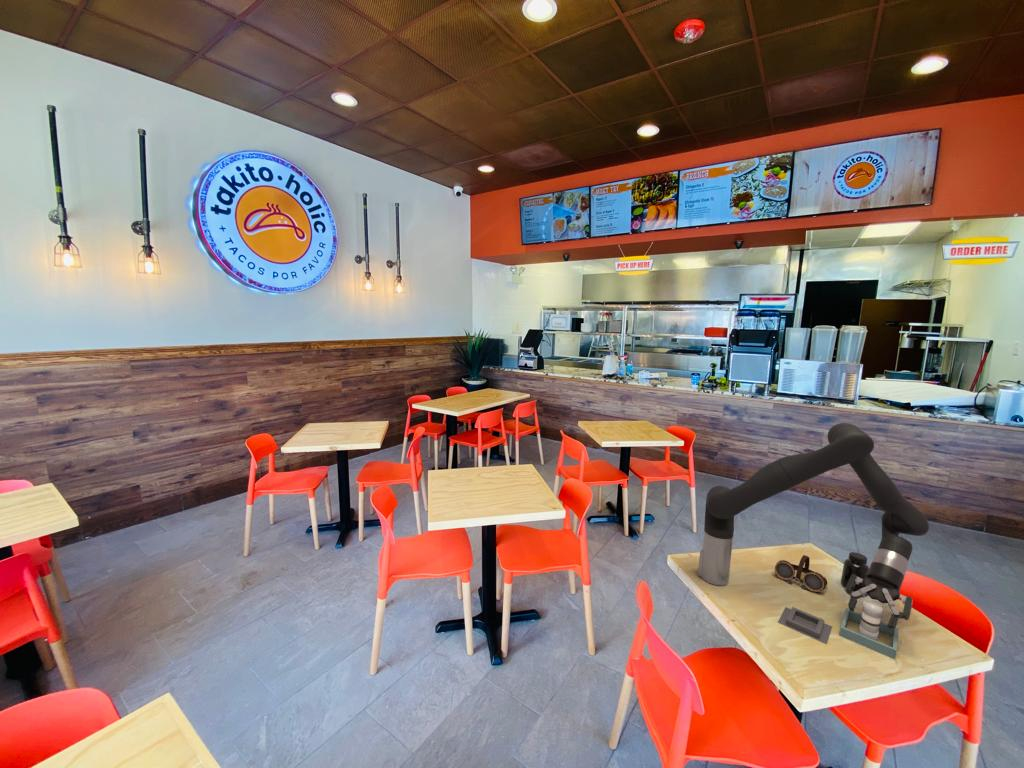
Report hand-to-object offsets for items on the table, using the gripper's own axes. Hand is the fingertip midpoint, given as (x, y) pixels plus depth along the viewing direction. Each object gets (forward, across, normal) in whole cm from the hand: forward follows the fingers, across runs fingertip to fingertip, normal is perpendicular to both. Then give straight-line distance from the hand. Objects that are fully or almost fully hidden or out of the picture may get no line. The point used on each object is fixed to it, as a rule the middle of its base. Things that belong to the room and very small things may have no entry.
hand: (869, 618), depth 119 cm
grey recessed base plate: (+11, -12, -1) cm, 17 cm away
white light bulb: (+3, 0, +5) cm, 6 cm away
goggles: (-7, -23, +18) cm, 30 cm away
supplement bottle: (-15, -11, +25) cm, 31 cm away
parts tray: (+4, 0, +6) cm, 7 cm away
